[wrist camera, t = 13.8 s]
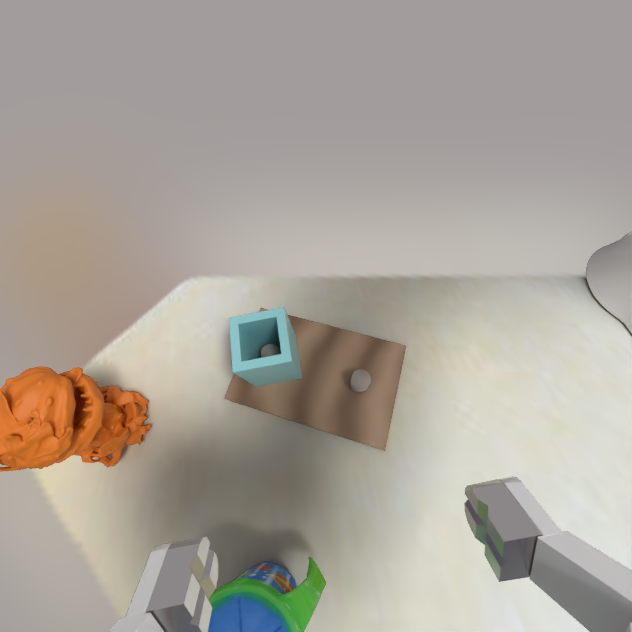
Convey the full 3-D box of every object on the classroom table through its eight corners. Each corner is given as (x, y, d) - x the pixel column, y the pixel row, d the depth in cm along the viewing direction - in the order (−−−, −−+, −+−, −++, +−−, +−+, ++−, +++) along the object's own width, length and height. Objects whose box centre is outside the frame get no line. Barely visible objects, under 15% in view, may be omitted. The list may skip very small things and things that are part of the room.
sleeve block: (295, 334, 43) (283, 307, 34) (302, 378, 41) (291, 361, 32) (252, 342, 43) (228, 317, 34) (256, 386, 41) (232, 372, 32)
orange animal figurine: (178, 401, 42) (75, 379, 26) (132, 480, 39) (-21, 514, 22) (118, 370, 45) (-12, 332, 28) (70, 442, 41) (-112, 447, 25)
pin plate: (403, 348, 43) (412, 336, 38) (383, 450, 38) (390, 452, 33) (263, 311, 47) (254, 296, 42) (228, 399, 42) (213, 394, 37)
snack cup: (223, 708, 30) (171, 830, 21) (186, 593, 34) (128, 653, 25) (351, 611, 33) (357, 682, 23) (303, 513, 36) (291, 540, 27)
